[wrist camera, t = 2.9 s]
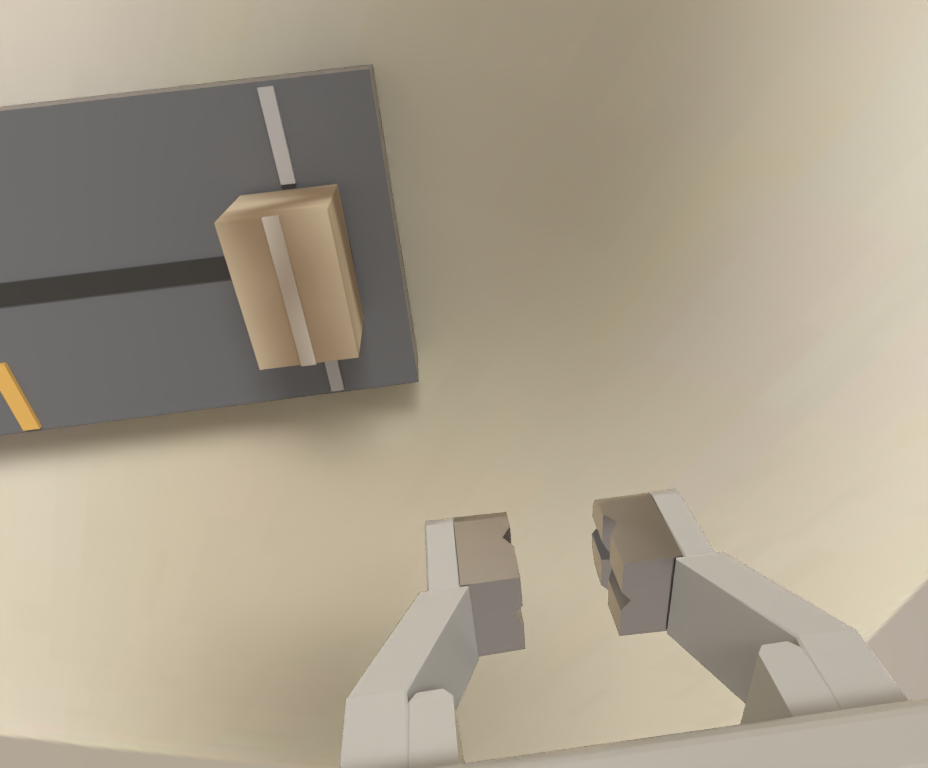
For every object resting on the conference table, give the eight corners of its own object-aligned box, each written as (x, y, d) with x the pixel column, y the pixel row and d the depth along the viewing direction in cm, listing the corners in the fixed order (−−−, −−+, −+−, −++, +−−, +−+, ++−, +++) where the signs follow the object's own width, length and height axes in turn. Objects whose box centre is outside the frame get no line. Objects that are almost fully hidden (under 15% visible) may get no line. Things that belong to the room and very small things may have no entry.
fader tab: (337, 183, 25) (326, 210, 21) (364, 316, 28) (358, 359, 24) (240, 195, 25) (212, 224, 21) (277, 327, 28) (259, 371, 24)
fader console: (372, 64, 26) (369, 69, 23) (417, 353, 33) (418, 384, 30) (-254, 135, 25) (-334, 149, 22) (-68, 415, 32) (-112, 451, 30)
